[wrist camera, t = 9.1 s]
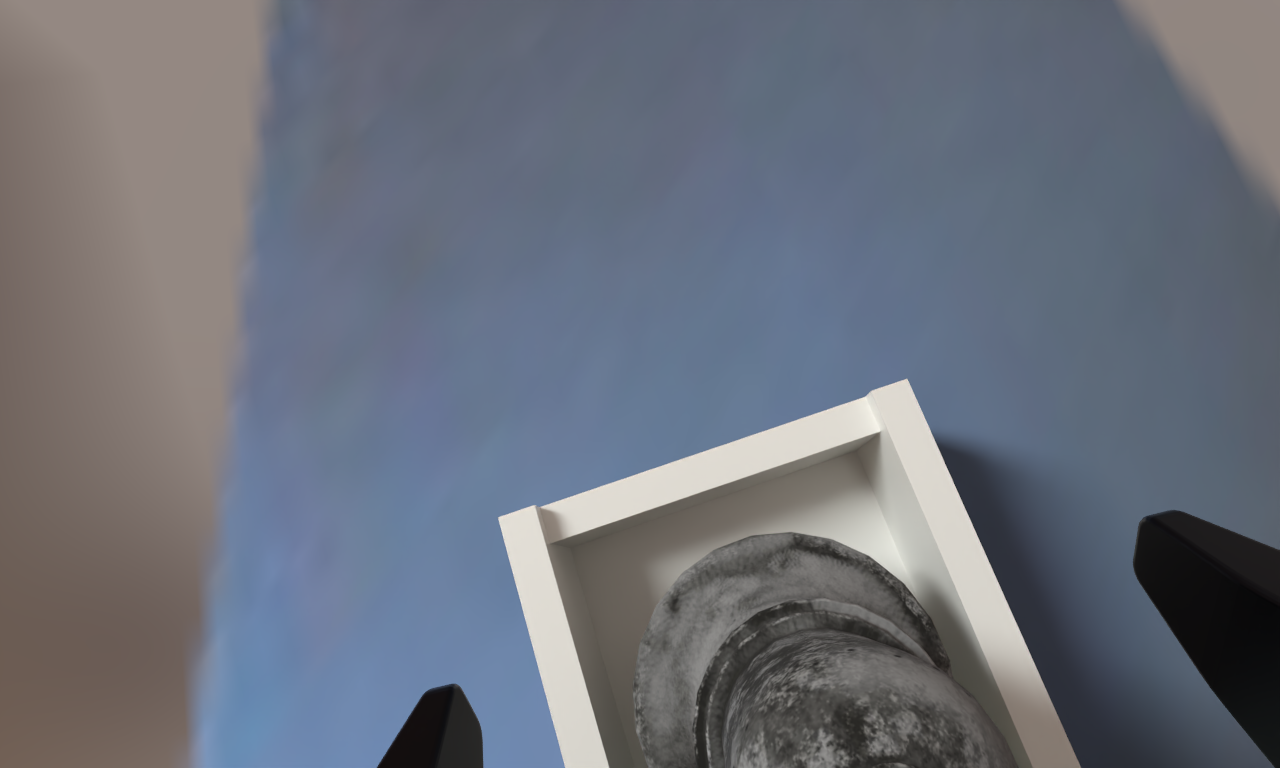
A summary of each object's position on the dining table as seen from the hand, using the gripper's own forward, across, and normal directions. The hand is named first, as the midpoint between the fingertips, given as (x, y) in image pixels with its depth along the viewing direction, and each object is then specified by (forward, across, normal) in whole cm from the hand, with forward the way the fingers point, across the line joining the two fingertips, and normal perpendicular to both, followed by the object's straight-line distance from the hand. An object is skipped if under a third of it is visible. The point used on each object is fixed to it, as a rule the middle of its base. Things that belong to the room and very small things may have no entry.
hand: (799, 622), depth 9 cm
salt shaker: (+5, 0, +7) cm, 8 cm away
